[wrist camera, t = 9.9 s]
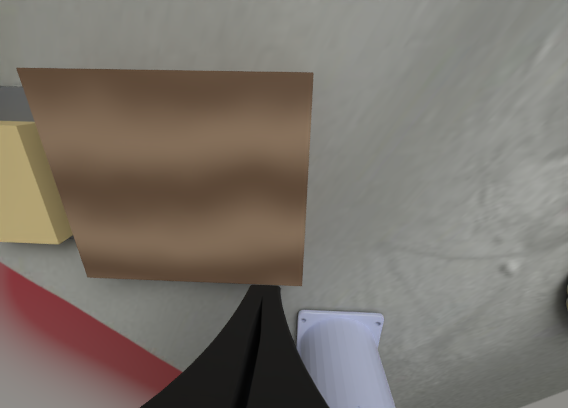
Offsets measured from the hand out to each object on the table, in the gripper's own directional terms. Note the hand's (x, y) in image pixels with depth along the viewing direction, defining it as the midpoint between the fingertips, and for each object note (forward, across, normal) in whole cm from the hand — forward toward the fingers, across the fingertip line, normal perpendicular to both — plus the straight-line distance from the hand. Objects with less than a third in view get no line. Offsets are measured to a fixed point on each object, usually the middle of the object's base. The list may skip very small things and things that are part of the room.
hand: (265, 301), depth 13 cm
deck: (+10, +6, -3) cm, 12 cm away
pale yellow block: (+8, +20, -2) cm, 22 cm away
